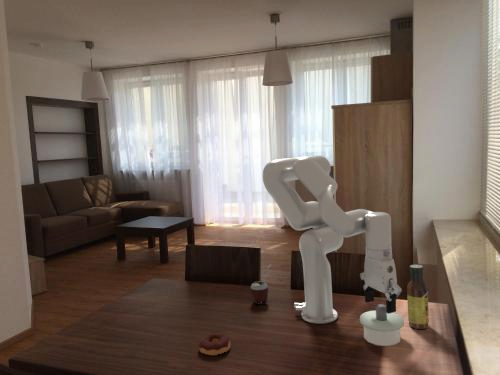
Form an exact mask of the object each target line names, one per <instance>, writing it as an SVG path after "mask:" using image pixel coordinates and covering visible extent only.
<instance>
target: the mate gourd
mask: <svg viewBox="0 0 500 375" xmlns="http://www.w3.org/2000/svg"><path fill="white" fill-rule="evenodd" d="M271 266H273V265H272V263H271V264H269V265H268V267H267V268H265V271H264V275H263V278H262V281H254V282H253V283H251V285H250V289H249V290H250V296H251V298H252V300H253V301H256V303H255V305H256V304H258V303H260V302H262V303H267V304H268V297H269V296H268V295H269V287H268V284H267V283H266V282H265V279H266V275H267V272H268V270H269V269H270V268H271Z"/></svg>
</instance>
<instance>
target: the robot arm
mask: <svg viewBox="0 0 500 375" xmlns="http://www.w3.org/2000/svg"><path fill="white" fill-rule="evenodd" d="M331 168H332V167H331V163H330V161H329V160H328V159H327V158H326V157H325V156H322V155H310V156H309V155H308V156H301V157H290V158H289V157H288V158H279V159H274V160H271V161H269V162H267V164H266V165H265V166H264V167H263V169H262V183H263V185H264V188H265V189H266V191H267V193H268V194H269V195H270V197H271V198H272V200H274V202H275V203H276V205H277V206H278V208H279V210H280V211H281V213H282V215H283V216H284V218H285V219H286V221H287V222H288V224H289V226H290V227H291V228H292V229H294V230H295V231H304V230H306V231H305V232H304V233H302V234H301V236H300V237H299V241H298V247H299V251H300V255H301V261H302V268H303V270H302V272H303V283H304V284H303V286H304V302H301V303H300V302H294V304H293V307H294V309H295V311H301V318H302V319H303V320H304V321H306V322H307V323H311V324H320V325H322V324H328V323H329V324H330V323H332V322H334V321H336V320H337V319H338V312H337V311H336V310H335V309H334V308H333V306H334V305H333V287H332V285H333V284H332V272H331V270H332V268H331V263H330V261H329V259H328V258H327V254H329V253H332V252H334V251H337V250H339V249H340V248H341V247H342V246H343V243H344V238H350V237H353V236H357V235H360V234H363V233H364V235H365V257H364V265H363V266H364V268H363V272H360V273H359V277H360V280H361V282H360V283H361V284H362V286H363V287H362V288H363V290H364V302H365V303H366V304H367V303H371V302H374V301H375V290H376V291H379V292H380V293H383V294H384V295H385V297H386V299H387V300H385V305H386V312H387V313H388V314H389V313H396V311H397V300H398V299H399V298H400V296H401V293H402V290H403V289H402V288H401V287H400V285H399V284H398V279H397V270H396V264H395V260H394V258H393V253H392V249H393V248H392V217H391V215H390V214H389V213H387V212H384V211H382V212H381V211H372V210H368V209H363V208H358V209H354V210H349V211H344V209H342V208H341V207H340V206H339V205H338V203H337V202H336V201H335V199H334V195H335V193H336V192H337V190H338V187H339V186H338V183H337V182H336V180H335V179H334V178H332V176H331V175H330V173H331V171H332V170H331ZM298 180H299V181H300V182H301V183H302V185H303V186H304V187H305V188H306V189H307V190H308V191H309V192H310V193H311V194H312V196H314V197H315V199H316V201H313V200H311V201H307V202H305V201H304V200H303V199H302V197H300V195H299V194H298V192H297V191H296V189H294V188H293V187H292V186H291V185H290V184H288V183H287V182H292V181H298ZM311 228H312V229H311ZM390 294H391V295H390Z"/></svg>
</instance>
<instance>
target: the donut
mask: <svg viewBox="0 0 500 375" xmlns="http://www.w3.org/2000/svg"><path fill="white" fill-rule="evenodd" d="M231 345H232V344H231V338H230V336H229V335H228V334H226V333H222V332H215V333H209V334H206V335H204V336H203V337H202V338H201V339H200V340H199V343H198V347H199V348H198V349H199V352H200V353H201V354H203V353H204V355H208V356H219V355H218V354H220V355H222V353H223V354H225V353H227V352H228V351H230V348H231ZM224 352H225V353H224Z"/></svg>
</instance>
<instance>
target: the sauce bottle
mask: <svg viewBox="0 0 500 375" xmlns="http://www.w3.org/2000/svg"><path fill="white" fill-rule="evenodd" d="M409 271H410V281H409V282H408V283H407V286H406V287H407V288H406V289H407V293H406V295H407V298H406V299H407V317H408V318H407V319H408V325H409V326H410V327H411V328H414V329H417V330H424V329H427V328H428V327H429V321H430V314H429V313H430V312H429V290H428V287H427V286H426V284H425V280H424V266H423V265H420V264H411V265H409Z"/></svg>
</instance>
